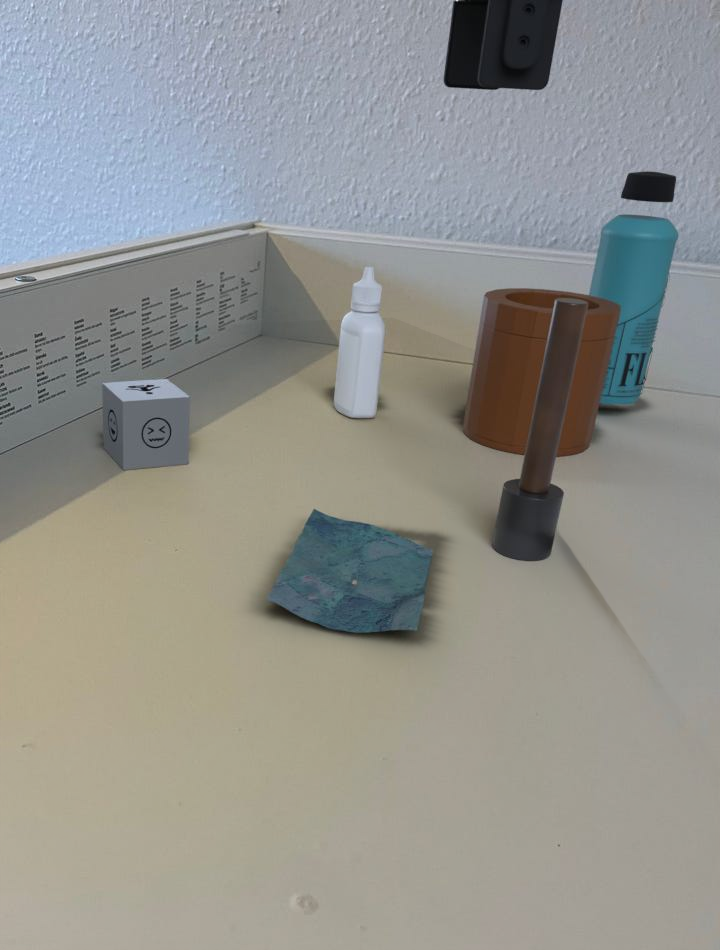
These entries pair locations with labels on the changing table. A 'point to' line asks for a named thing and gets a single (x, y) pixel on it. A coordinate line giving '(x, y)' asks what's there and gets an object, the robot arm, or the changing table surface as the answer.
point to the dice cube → (146, 423)
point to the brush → (542, 445)
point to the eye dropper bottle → (360, 351)
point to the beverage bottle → (634, 282)
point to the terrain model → (353, 577)
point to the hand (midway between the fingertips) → (490, 88)
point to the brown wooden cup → (534, 368)
